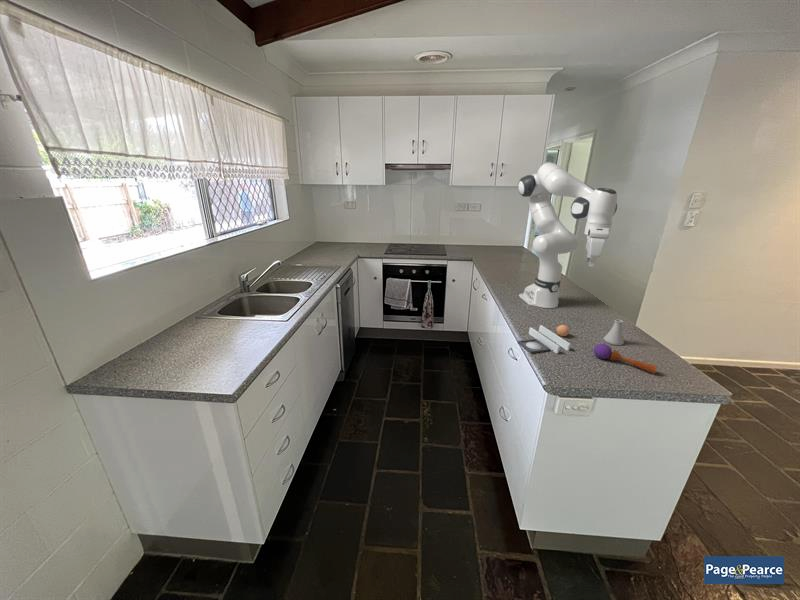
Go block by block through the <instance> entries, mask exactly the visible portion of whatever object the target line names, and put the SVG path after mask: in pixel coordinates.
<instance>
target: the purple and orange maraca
mask: <svg viewBox="0 0 800 600" xmlns="http://www.w3.org/2000/svg"><path fill="white" fill-rule="evenodd" d="M593 353H594V355H595V356H596V357H597V358H599V359H601V360H606V359H609V358H610V360H611V361H613V360H614V361H615V360H616V361H617V360H620V361H624V362H626V363H628V364H629V365H633V366H635V367H637V368H639V369H641V370H644V371H645V372H648V373H649V374H651V375H655V373H656V371H657V369H658V365H654V364H651V363H648V362H647V363H646V362H643V361H640V360H635V359H632V358H629V357H628V358H627V357H624V356H622V355H621V354H620V353H619V352H618V351H616V349H613V350H612V348H611V346H610V345H608V344H606V343H599V344H596V345H595V346H594V347H593Z"/></svg>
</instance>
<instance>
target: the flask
mask: <svg viewBox="0 0 800 600" xmlns="http://www.w3.org/2000/svg"><path fill="white" fill-rule="evenodd" d="M624 323H625V322H624V320H622V319H617V318H616V319H614V323H613V325H612V326H611V327H612V328H611V329H610V330H609V331H608V333H607V334H606V335H605V336H603V338H602V340H604V341H605V343H608V344H611V345H612V346H622V345H624V344H625V342H624V337H623V331H622V330H623V324H624Z"/></svg>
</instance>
